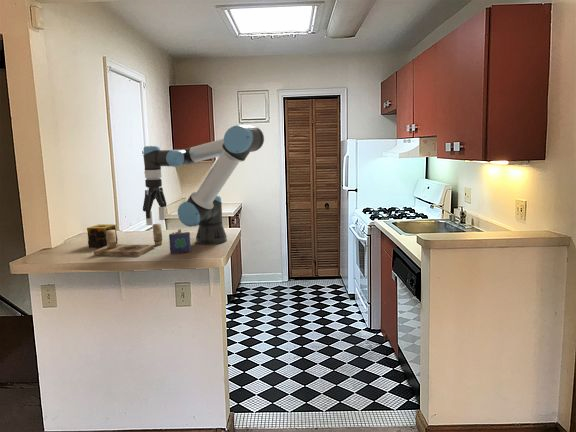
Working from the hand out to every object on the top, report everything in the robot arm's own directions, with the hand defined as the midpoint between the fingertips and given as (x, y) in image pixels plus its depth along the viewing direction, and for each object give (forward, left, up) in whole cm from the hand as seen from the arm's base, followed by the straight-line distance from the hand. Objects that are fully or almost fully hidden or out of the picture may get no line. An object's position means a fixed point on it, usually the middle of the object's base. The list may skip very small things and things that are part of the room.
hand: (156, 222), depth 227 cm
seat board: (+9, +16, -11) cm, 21 cm away
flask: (-18, +15, -11) cm, 26 cm away
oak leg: (0, 0, -11) cm, 11 cm away
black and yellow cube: (+27, +4, -11) cm, 29 cm away
